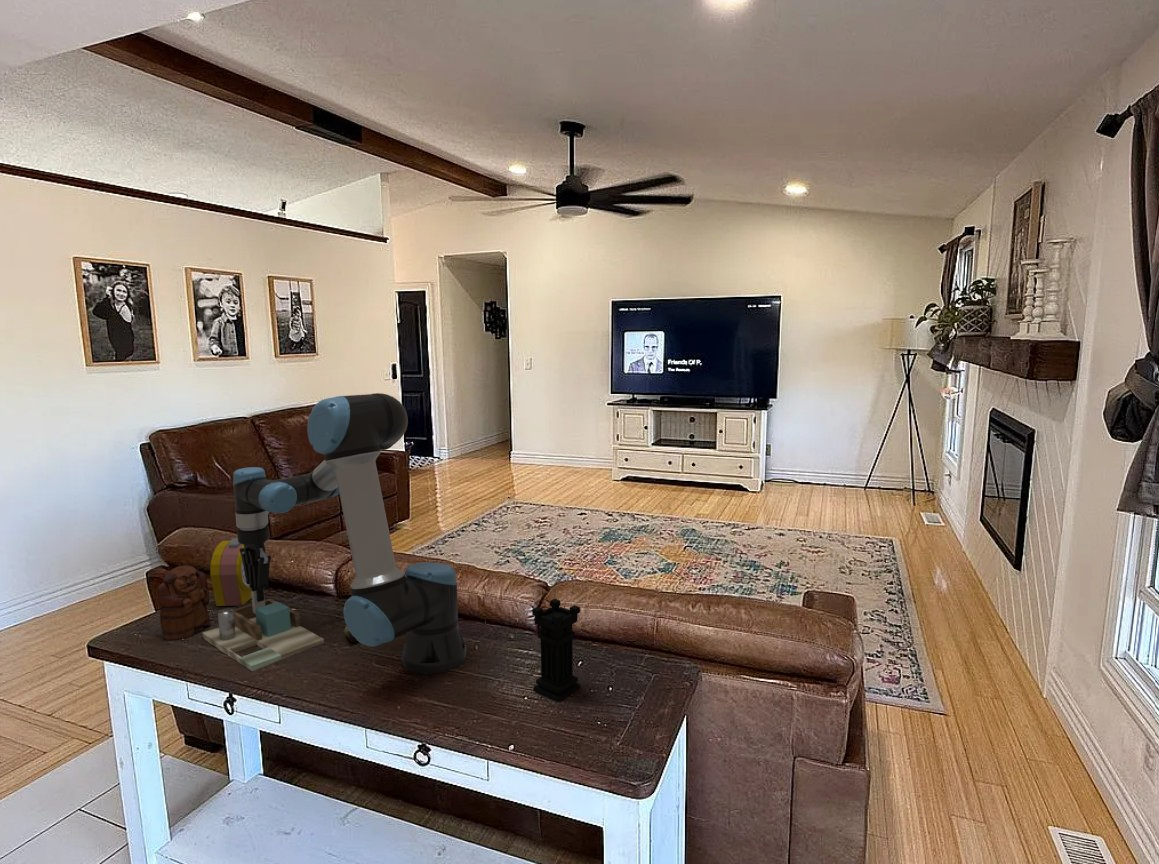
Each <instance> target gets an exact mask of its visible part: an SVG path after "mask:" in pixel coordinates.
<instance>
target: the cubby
mask: <svg viewBox="0 0 1159 864" xmlns="http://www.w3.org/2000/svg"><path fill="white" fill-rule="evenodd" d="M276 602H277V601H276V600H274V599H272V598H268V599H265V606H266V605H269V604H272V603H276ZM233 610H234V622H235V627H237V628H238V629H240V630H241V631H243V632H245V633H246V634H248V635H250V636H251V637H253V638H254V639H256V640H258V641H259V640H262V632H261V626H260V625H258V624H256V623H255V622H253V621H251V620H249V619H251V618H254V617H256V614H255V613H253V608H252V603H251V604H248V605H245V606H241V607H239V608H234V609H233ZM289 611H290V624H291V625H293V626H295V627H299V626H301V624H300V623H301V622H300V620H301V619H300V613H299V612H297V611H296V610H293V609H291V608H290V607H289Z"/></svg>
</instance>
